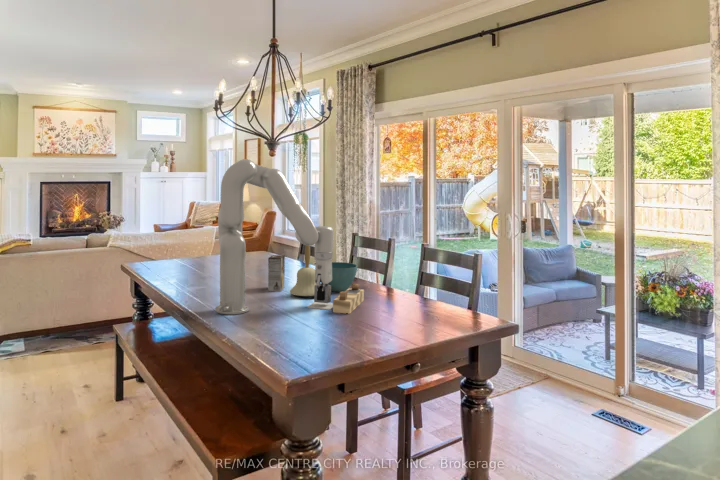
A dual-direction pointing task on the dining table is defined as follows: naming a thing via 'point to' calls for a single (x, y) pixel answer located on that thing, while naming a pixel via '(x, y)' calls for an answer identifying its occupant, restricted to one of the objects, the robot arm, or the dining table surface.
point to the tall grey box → (327, 294)
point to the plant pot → (342, 276)
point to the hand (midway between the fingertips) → (322, 298)
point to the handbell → (305, 278)
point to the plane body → (348, 299)
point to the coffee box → (276, 272)
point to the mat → (321, 305)
